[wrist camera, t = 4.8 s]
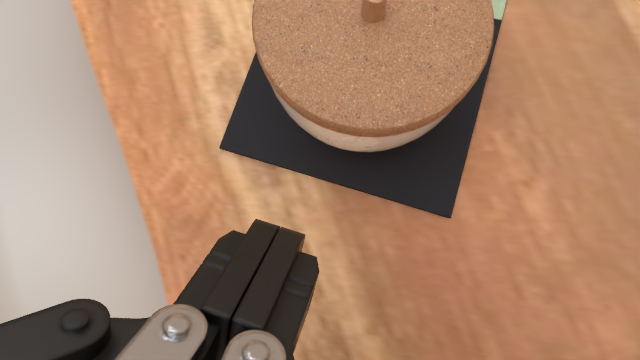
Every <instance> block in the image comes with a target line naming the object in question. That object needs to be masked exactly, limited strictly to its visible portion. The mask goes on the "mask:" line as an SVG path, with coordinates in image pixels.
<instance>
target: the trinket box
mask: <svg viewBox="0 0 640 360" xmlns="http://www.w3.org/2000/svg"><path fill="white" fill-rule="evenodd" d="M252 30H253V40H254V44H255V48H256V52H257V55H258V59H259V62H260V64H261V66H262V68H263V71H264V73H265V75H266V77H267V79H268V81H269V82H270V84H271V86H272V88H273V91H274V93H275V95H276V97H277V98H278V100H279V101H280V103H281V104H282V106H283V107H284V109H285V110H286V111H287V113H288V114H289V115H290V117H291V118H292V119H293V120H294V121H295V122H296V123H297V124H298V125H299V126H300V127H302V128H303V129H304V130H306V131H307V132H308V133H310V134H311V135H312V136H314V137H315V138H317V139H319V140H321V141H322V142H324V143H326V144H329V145H331V146H334V147H337V148H340V149H344V150H350V151H355V152H376V151H384V150H388V149H392V148H396V147H399V146H402V145H404V144H406V143H409V142H411V141H413V140H415V139H417V138H419V137H421V136H422V135H424V134H425V133H427V132H428V131H430V130H431V129H432V128H434V127H435V126H436V125H437V124H438V123H439V122H440V121H441V120H443V119H444V118H445V117H446V116H447V115H448V114H449V113H450V112H451V110H452V109H453V108H454V107H455V105H457V104H458V103H459V102H460V101H461V100H462V99H463V98H464V97H465V95H466V94H467V93H468V91H469V90H470V89H471V88H472V86H473V85H474V84H475V82H476V81H477V79H478V78H479V76H480V74H481V72H482V70H483V68H484V66H485V65H486V63H487V60H488V57H489V53H490V50H491V47H492V42H493V35H494V11H493V7H492V2H491V0H255V2H254V5H253V15H252Z"/></svg>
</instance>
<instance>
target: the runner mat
mask: <svg viewBox="0 0 640 360" xmlns="http://www.w3.org/2000/svg"><path fill="white" fill-rule="evenodd" d="M506 1H507V0H491V2H492V7H493V11H494V35H493V42H492V47H491V50H490V53H489V57H488V60H487V63H486V65H485V66H484V68H483V70H482V72H481V74H480V76H479V78H478V79H477V81H476V82H475V84H474V85H473V86H472V88H471V89H470V90H469V91H468V93H467V94H466V95H465V97H464V98H463V99H462V100H461V101H460V102H459V103H458V104H457V105H455V107H454V108H453V109H452V110H451V112H450V113H449V114H448V115H447V116H446V117H445V118H444V119H443V120H441V121H440V122H439V123H438V124H437V125H436V126H435V127H434V128H432V129H431V130H430V131H428V132H427V133H425V134H424V135H422V136H421V137H419V138H417V139H415V140H413V141H411V142H409V143H406V144H404V145H402V146H399V147H396V148H392V149H388V150H384V151H376V152H355V151H350V150H344V149H340V148H337V147H334V146H331V145H329V144H326V143H324V142H322V141H321V140H319V139H317V138H315V137H314V136H312V135H311V134H310V133H308V132H307V131H306V130H304V129H303V128H302V127H300V126H299V125H298V124H297V123H296V122H295V121H294V120H293V119H292V118H291V117H290V115H289V114H288V113H287V111H286V110H285V109H284V107H283V106H282V104H281V103H280V101H279V100H278V98H277V97H276V95H275V93H274V91H273V88H272V86H271V84H270V82H269V81H268V79H267V77H266V75H265V73H264V71H263V68H262V66H261V64H260V62H259V59H258V55H257V52H256V53H255V56H254V59H253V61H252V64H251V66H250V69H249V72H248V74H247V77H246V79H245V82H244V85H243V87H242V90H241V93H240V95H239V98H238V100H237V103H236V106H235V108H234V111H233V113H232V116H231V119H230V121H229V124H228V127H227V129H226V132H225V134H224V137H223V140H222V142H221V145H220V149H224V150H227V151H230V152H234V153H237V154H240V155H243V156H247V157H250V158H253V159H257V160H260V161H263V162H266V163H270V164H273V165H276V166H280V167H283V168H286V169H290V170H293V171H296V172H299V173H303V174H306V175H309V176H313V177H316V178H319V179H322V180H326V181H329V182H332V183H336V184H339V185H342V186H345V187H349V188H352V189H355V190H359V191H362V192H365V193H368V194H372V195H375V196H378V197H382V198H385V199H388V200H392V201H395V202H398V203H401V204H405V205H408V206H411V207H415V208H418V209H421V210H424V211H428V212H431V213H434V214H438V215H441V216H444V217H447V218H451V214H452V210H453V206H454V203H455V199H456V195H457V191H458V187H459V183H460V179H461V175H462V172H463V168H464V164H465V160H466V156H467V152H468V148H469V144H470V141H471V137H472V133H473V129H474V125H475V121H476V117H477V114H478V110H479V106H480V102H481V98H482V94H483V90H484V86H485V83H486V79H487V75H488V71H489V67H490V63H491V59H492V55H493V52H494V48H495V44H496V40H497V36H498V32H499V28H500V24H501V20H502V17H503V13H504V9H505V5H506Z"/></svg>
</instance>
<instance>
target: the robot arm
mask: <svg viewBox="0 0 640 360" xmlns="http://www.w3.org/2000/svg"><path fill="white" fill-rule="evenodd" d="M304 240H305V234H302V233H299V232H296V231H293V230H290V229H286V228H283V227H281V228H280V226H277V225H274V224H270V223H267V222H264V221H261V220H258V219H256V220H255V221H254V222H253V223H252V225H251V227H250V228H249V230H248V231H247V233H246V234H243V233H240V232H237V231H234V230H233V231H231V232H229V233H228V234H226V235H225V236H223V237H221V238H220V239H218V241H217V242H216V244H215V245H214V247H213V248H212V249H211V251H210V254H208V255H207V257H206V258H205V260H204V261H203V264H201V265H200V267H199V268H198V270H197V271H196V273H195V274H194V275H193V277H192V278H191V280H190V281H189V283H188V284H187V285H186V287H185V288H184V290H183V291H182V293H181V294H180V296H179V297H178V298H177V300H176V301H175V302H174V304H173V305H169V306H166V307H163V308H161V309H159V310H158V311H157V312H155V313H154V314H153V315H152V316H151V317H149V318H142V319H130V318H110V314H109V311H108V309H107V308H106V307H105V306H104V305H103V304H101V303H100V302H97V301H95V300H91V299H76V300H71V301H68V302H64V303H61V304H58V305H55V306H52V307H49V308H47V309H44V310H41V311H38V312H35V313H32V314H29V315H26V316H23V317H20V318H17V319H14V320H11V321H8V322H5V323H2V324H0V360H294V357H293V353H294V350H295V347H296V344H297V341H298V338H299V335H300V333H301V330H302V327H303V324H304V321H305V318H306V315H307V313H308V310H309V307H310V303H311V299H312V296H313V292H314V289H315V285H316V281H317V278H318V274H319V268H318V262H317V257H315V256H312V255H309V254H306V253H302V248H303V244H304Z"/></svg>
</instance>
